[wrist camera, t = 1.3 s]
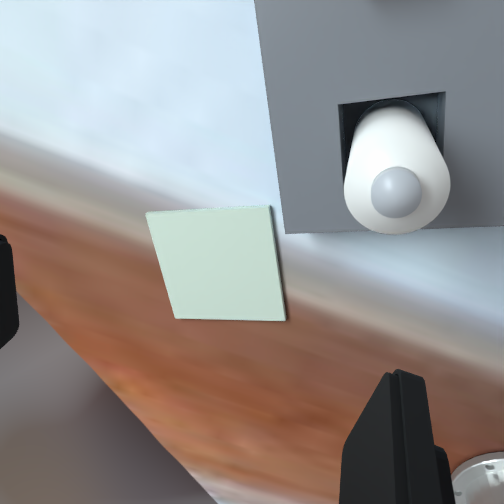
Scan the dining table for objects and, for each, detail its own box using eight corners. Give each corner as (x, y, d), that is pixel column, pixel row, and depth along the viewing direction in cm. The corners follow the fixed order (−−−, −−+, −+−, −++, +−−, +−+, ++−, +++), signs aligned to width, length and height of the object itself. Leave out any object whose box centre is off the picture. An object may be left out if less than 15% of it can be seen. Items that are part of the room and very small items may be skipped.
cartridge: (427, 94, 30) (456, 137, 19) (425, 166, 33) (450, 241, 21) (352, 103, 32) (339, 148, 21) (355, 171, 34) (345, 244, 23)
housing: (547, -233, 22) (578, -279, 19) (500, 203, 32) (515, 225, 29) (250, -142, 27) (232, -165, 23) (293, 214, 37) (285, 233, 34)
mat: (269, 204, 37) (268, 207, 37) (286, 317, 42) (285, 320, 42) (148, 211, 41) (145, 214, 40) (177, 315, 46) (175, 318, 45)
